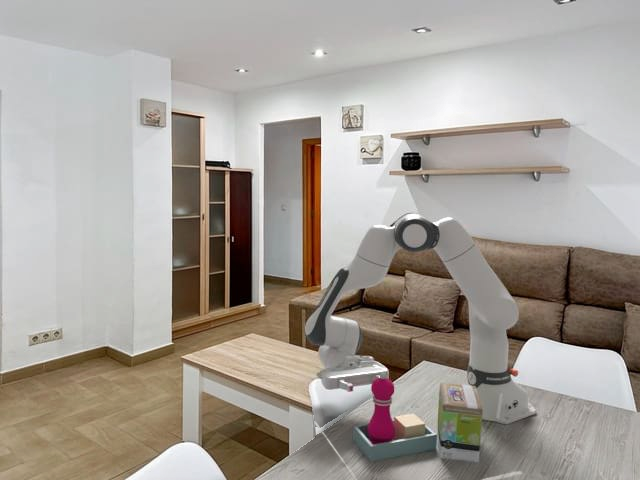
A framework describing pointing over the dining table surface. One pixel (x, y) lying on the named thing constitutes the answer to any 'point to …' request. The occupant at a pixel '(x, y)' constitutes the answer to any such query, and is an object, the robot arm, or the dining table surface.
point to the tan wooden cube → (408, 426)
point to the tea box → (459, 422)
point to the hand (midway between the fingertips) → (366, 386)
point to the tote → (393, 444)
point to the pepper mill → (381, 411)
